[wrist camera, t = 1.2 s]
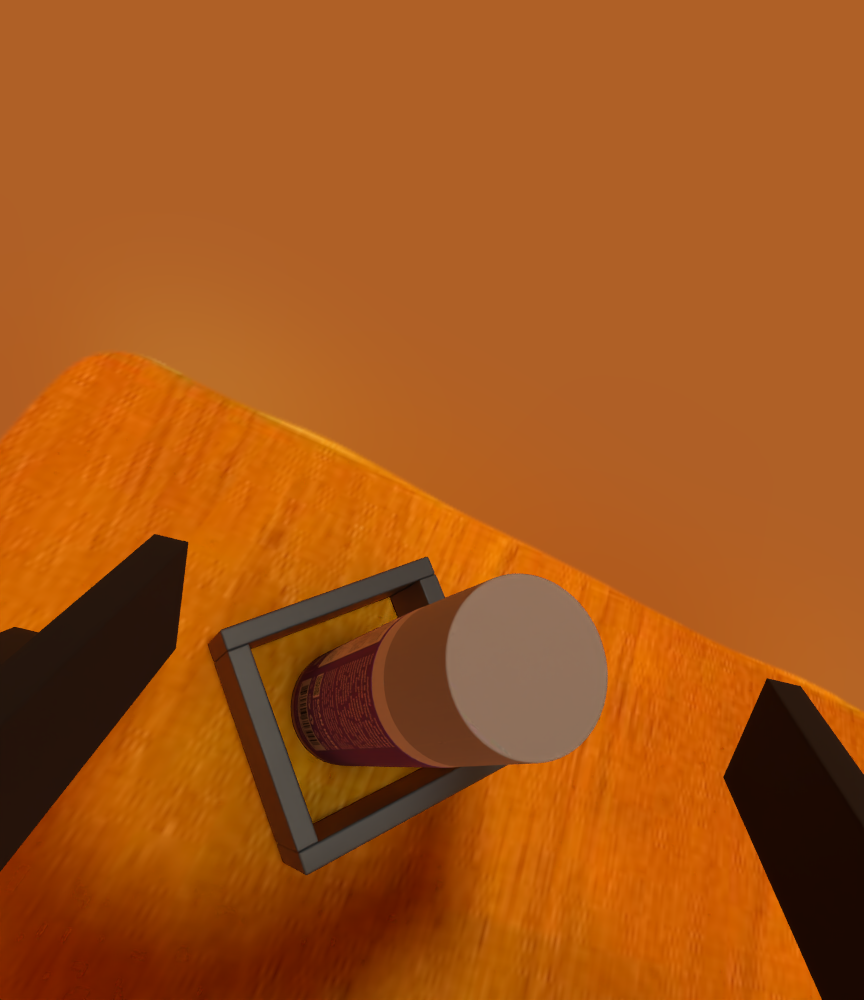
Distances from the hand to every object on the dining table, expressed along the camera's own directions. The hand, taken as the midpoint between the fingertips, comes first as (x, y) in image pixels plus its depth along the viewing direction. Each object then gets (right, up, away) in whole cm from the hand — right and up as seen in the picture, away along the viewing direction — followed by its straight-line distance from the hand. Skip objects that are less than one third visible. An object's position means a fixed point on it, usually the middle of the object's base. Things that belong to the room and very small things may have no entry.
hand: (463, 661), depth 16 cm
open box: (-4, -5, +14) cm, 16 cm away
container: (-4, -5, +14) cm, 16 cm away
